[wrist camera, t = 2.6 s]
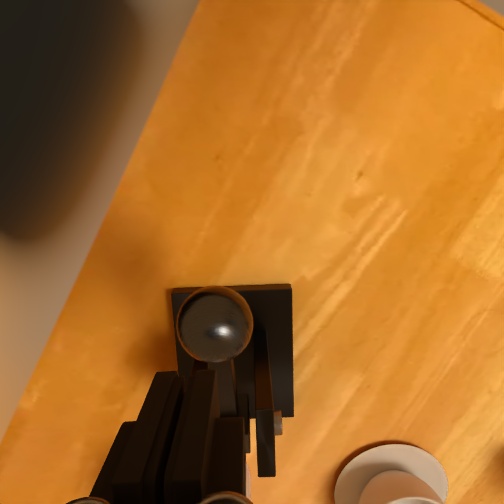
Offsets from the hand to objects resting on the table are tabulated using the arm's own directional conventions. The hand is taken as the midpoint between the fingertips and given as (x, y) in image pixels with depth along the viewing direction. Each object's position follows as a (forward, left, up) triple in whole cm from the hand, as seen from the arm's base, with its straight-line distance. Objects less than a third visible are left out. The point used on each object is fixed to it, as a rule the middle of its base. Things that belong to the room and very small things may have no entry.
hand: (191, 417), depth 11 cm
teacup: (+23, +13, -20) cm, 33 cm away
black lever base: (+9, 0, -20) cm, 22 cm away
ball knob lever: (+3, 0, -10) cm, 10 cm away
